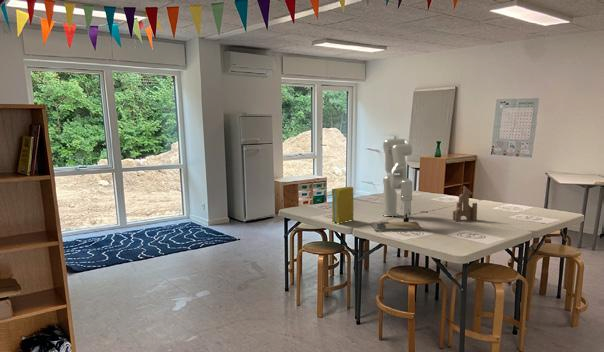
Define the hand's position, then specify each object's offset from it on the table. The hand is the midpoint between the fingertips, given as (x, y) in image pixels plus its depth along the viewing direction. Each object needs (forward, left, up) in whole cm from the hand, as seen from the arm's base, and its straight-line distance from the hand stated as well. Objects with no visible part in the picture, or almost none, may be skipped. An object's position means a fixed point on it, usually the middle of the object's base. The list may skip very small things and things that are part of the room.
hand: (406, 224), depth 280 cm
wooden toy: (-17, +47, -2) cm, 50 cm away
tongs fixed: (+7, -7, -1) cm, 10 cm away
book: (-19, -41, -2) cm, 45 cm away
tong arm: (+6, -7, -1) cm, 10 cm away
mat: (0, -7, -2) cm, 7 cm away
